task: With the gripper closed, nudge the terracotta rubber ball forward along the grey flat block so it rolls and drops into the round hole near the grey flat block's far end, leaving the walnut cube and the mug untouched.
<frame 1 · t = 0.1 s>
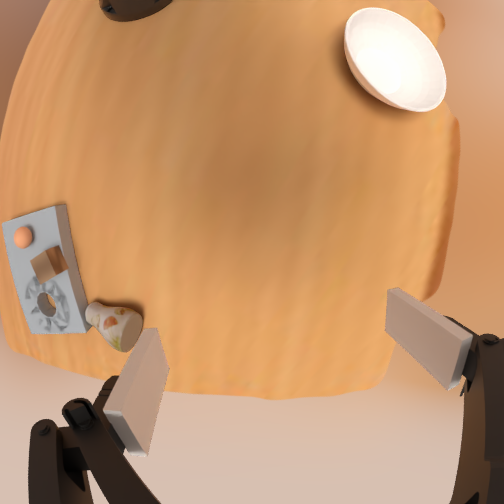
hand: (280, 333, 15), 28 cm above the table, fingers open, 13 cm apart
ball: (22, 237, 33), point 5 cm above the table, touching grey flat block
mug: (116, 316, 43), on the table
grey flat block: (48, 271, 40), on the table
walnut cube: (55, 261, 36), point 3 cm above the table, touching grey flat block
bowl: (377, 71, 38), on the table
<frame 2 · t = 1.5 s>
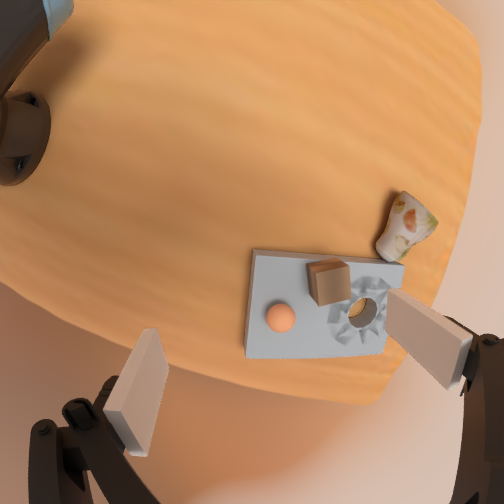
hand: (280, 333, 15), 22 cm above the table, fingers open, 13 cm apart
ball: (281, 318, 33), point 5 cm above the table, touching grey flat block
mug: (393, 228, 38), on the table
grey flat block: (322, 303, 39), on the table
walnut cube: (322, 276, 34), point 3 cm above the table, touching grey flat block
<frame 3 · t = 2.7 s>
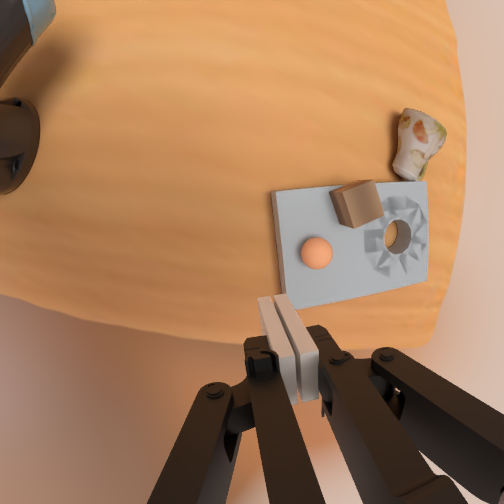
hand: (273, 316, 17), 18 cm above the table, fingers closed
ball: (317, 253, 30), point 5 cm above the table, touching grey flat block
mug: (405, 149, 34), on the table
grey flat block: (353, 237, 36), on the table
walnut cube: (348, 202, 31), point 3 cm above the table, touching grey flat block
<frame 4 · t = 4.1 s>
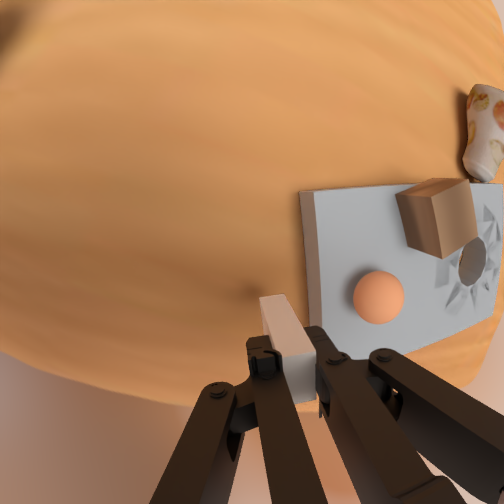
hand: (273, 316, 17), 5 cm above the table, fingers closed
ball: (378, 297, 17), point 5 cm above the table, touching grey flat block
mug: (472, 139, 21), on the table
grey flat block: (414, 261, 22), on the table
walnut cube: (421, 211, 18), point 3 cm above the table, touching grey flat block
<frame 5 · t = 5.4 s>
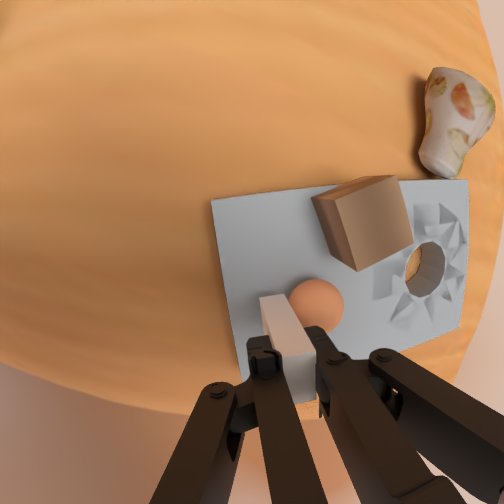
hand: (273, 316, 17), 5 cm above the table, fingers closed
ball: (315, 307, 17), point 5 cm above the table, tilted 56°, touching grey flat block
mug: (434, 131, 20), on the table
grey flat block: (355, 269, 22), on the table
walnut cube: (347, 215, 17), point 3 cm above the table, touching grey flat block
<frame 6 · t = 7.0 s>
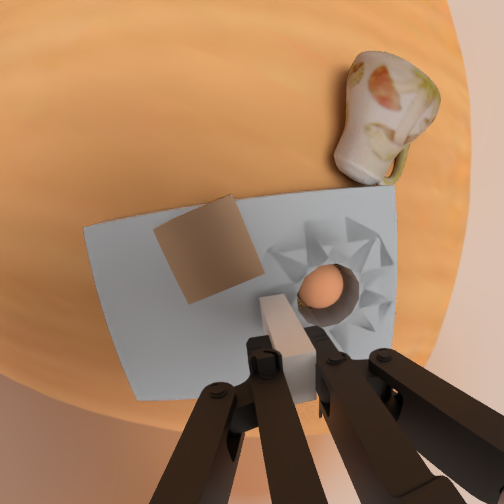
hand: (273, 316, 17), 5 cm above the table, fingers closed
ball: (319, 284, 20), point 2 cm above the table, tilted 58°
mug: (365, 130, 20), on the table
grey flat block: (251, 291, 21), on the table
walnut cube: (212, 237, 17), point 3 cm above the table, touching grey flat block
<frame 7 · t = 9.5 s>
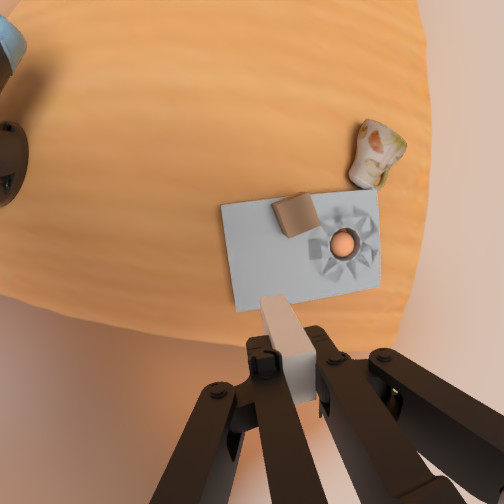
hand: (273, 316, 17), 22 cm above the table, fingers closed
ball: (341, 244, 38), point 2 cm above the table, tilted 62°
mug: (365, 159, 38), on the table
grey flat block: (303, 244, 39), on the table
walnut cube: (291, 212, 35), point 3 cm above the table, touching grey flat block
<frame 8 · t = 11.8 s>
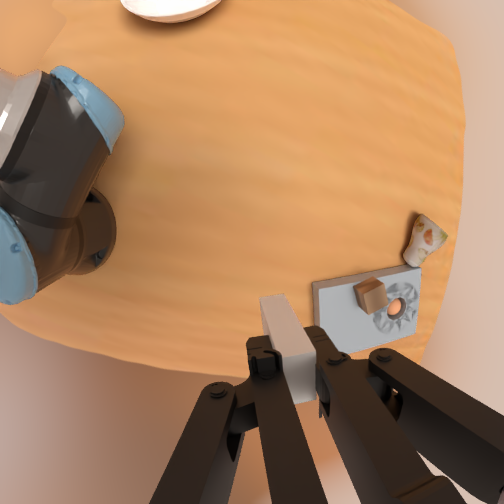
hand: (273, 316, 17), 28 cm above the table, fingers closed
ball: (392, 305, 48), point 2 cm above the table, tilted 60°
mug: (414, 240, 48), on the table
grey flat block: (366, 307, 49), on the table
walnut cube: (365, 291, 45), point 3 cm above the table, touching grey flat block
bowl: (181, 3, 34), on the table
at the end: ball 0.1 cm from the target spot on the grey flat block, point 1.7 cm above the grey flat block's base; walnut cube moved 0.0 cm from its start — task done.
